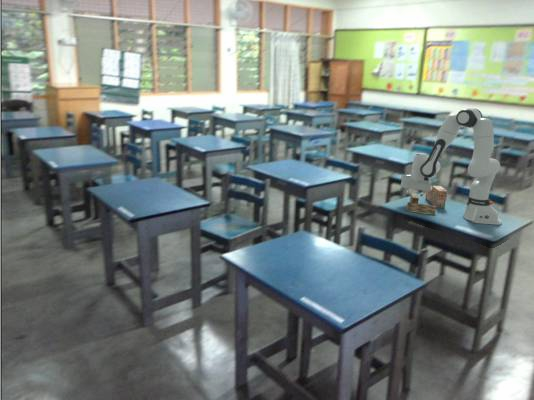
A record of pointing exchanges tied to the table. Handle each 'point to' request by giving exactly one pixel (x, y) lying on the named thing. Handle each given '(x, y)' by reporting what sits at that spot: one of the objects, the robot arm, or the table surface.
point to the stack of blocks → (437, 196)
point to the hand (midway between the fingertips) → (414, 195)
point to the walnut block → (414, 198)
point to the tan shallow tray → (421, 208)
